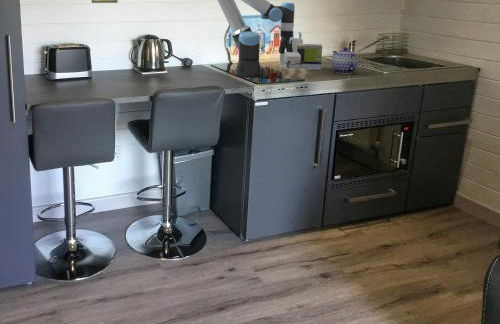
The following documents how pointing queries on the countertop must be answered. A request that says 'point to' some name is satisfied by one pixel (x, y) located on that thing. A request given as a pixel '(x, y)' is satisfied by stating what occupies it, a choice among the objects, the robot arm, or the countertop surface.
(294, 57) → the ink box
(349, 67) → the teapot
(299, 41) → the grater
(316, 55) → the tea box
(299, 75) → the batten
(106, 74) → the countertop surface
